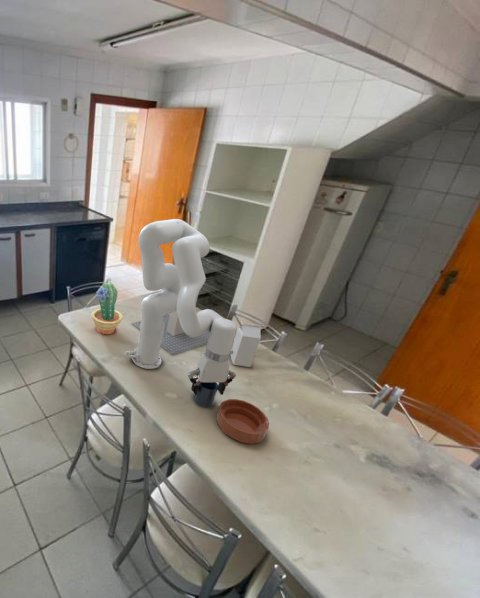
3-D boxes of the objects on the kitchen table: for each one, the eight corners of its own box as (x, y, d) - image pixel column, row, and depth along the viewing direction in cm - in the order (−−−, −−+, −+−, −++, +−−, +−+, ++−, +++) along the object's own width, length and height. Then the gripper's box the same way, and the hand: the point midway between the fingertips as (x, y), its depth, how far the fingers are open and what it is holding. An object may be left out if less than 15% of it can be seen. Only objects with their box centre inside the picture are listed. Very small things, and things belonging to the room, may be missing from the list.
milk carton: (250, 367, 141) (263, 330, 133) (233, 365, 142) (245, 327, 134) (246, 358, 147) (258, 321, 139) (229, 355, 148) (241, 319, 140)
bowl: (228, 445, 104) (232, 433, 102) (209, 409, 118) (212, 398, 116) (273, 444, 105) (278, 433, 103) (249, 409, 119) (253, 399, 116)
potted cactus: (86, 323, 168) (89, 278, 157) (114, 320, 172) (118, 276, 161) (96, 339, 155) (100, 291, 144) (126, 335, 159) (132, 289, 148)
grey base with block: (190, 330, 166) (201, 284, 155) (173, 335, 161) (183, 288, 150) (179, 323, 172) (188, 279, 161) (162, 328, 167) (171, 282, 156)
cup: (197, 407, 118) (202, 390, 115) (191, 394, 124) (195, 377, 121) (216, 407, 119) (221, 390, 115) (208, 394, 125) (213, 377, 121)
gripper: (236, 347, 116) (225, 385, 123) (188, 347, 115) (180, 385, 122) (247, 360, 109) (234, 399, 116) (196, 359, 108) (187, 399, 116)
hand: (207, 392), depth 119 cm, fingers open, 9 cm apart
